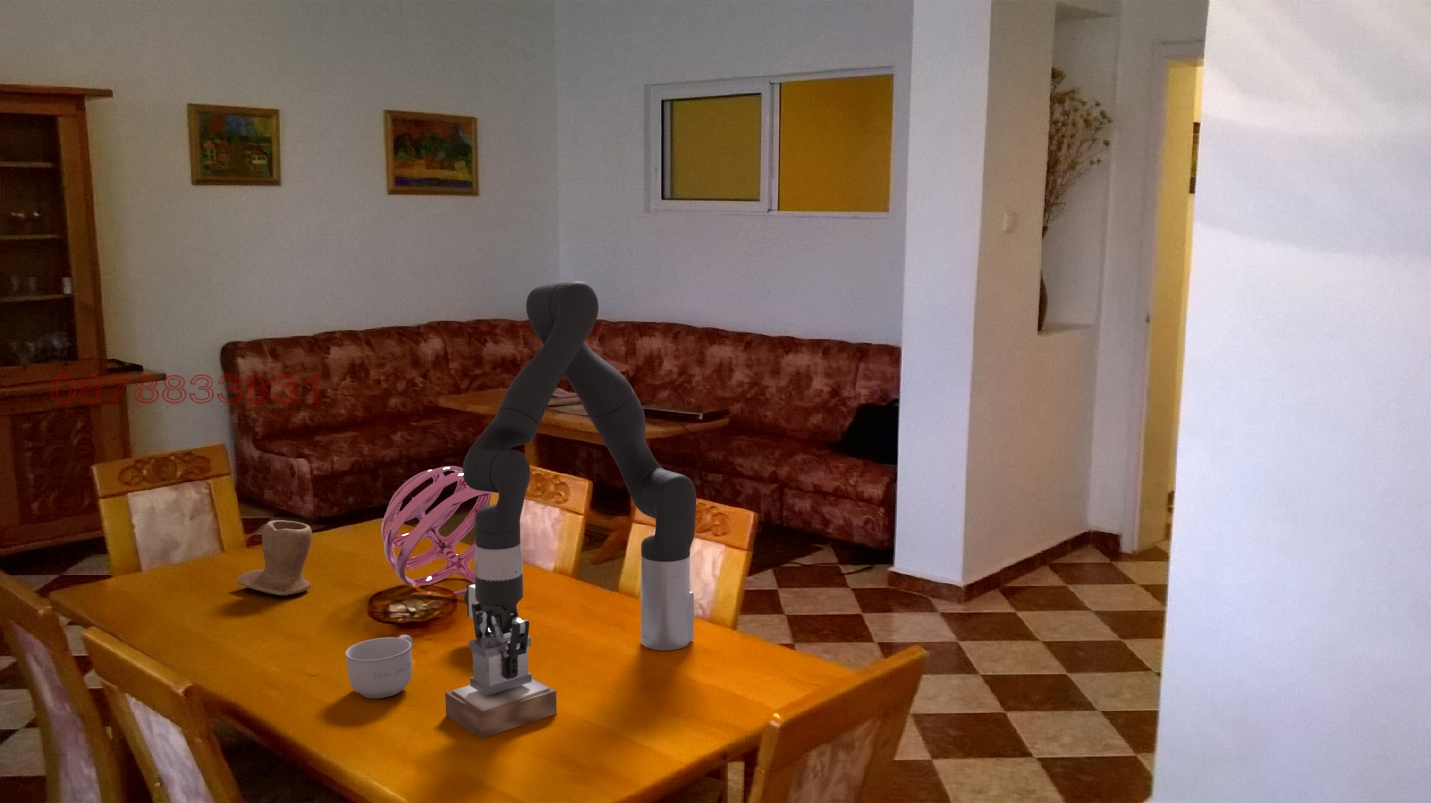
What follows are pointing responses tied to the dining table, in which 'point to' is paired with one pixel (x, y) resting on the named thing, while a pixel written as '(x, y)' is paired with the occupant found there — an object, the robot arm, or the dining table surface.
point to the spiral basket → (431, 527)
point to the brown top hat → (281, 559)
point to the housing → (495, 666)
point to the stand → (500, 707)
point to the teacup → (380, 666)
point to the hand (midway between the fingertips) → (501, 671)
